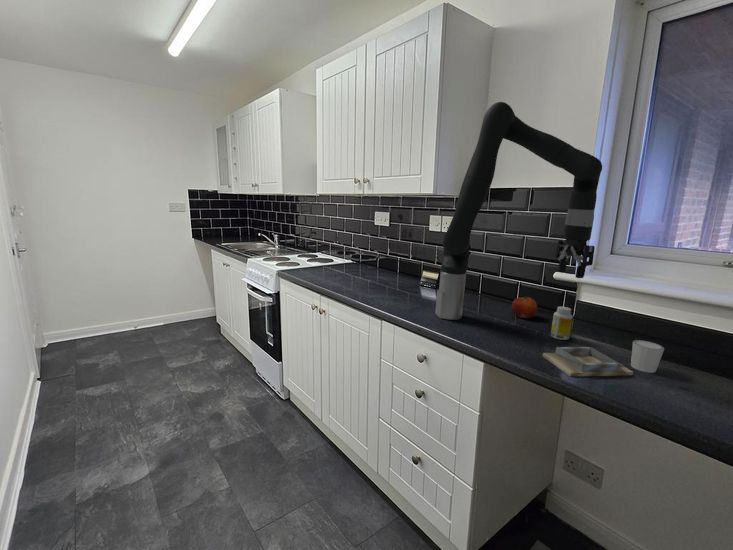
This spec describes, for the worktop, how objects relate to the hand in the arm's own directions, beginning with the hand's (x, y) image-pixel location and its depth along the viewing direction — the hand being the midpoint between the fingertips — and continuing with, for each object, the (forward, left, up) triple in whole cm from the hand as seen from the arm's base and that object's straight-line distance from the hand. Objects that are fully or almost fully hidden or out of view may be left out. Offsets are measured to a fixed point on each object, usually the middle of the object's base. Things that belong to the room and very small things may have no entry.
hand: (570, 274), depth 115 cm
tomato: (-1, +21, -22) cm, 30 cm away
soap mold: (+1, -8, -110) cm, 110 cm away
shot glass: (+10, -22, -22) cm, 33 cm away
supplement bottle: (0, 0, -22) cm, 22 cm away
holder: (-6, -20, -21) cm, 30 cm away
